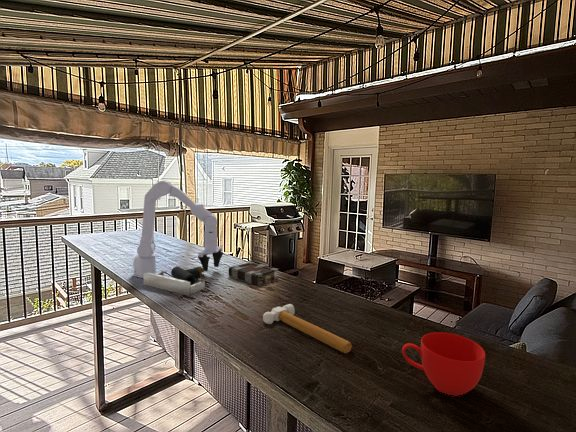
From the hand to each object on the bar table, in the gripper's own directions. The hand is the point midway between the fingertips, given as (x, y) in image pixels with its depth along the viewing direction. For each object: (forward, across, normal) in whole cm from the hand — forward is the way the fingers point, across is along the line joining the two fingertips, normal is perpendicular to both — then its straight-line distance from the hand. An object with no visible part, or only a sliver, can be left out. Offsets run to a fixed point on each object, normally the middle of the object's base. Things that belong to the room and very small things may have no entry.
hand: (211, 268), depth 159 cm
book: (+2, +4, -24) cm, 25 cm away
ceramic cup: (+2, -39, -102) cm, 109 cm away
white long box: (+2, -22, 0) cm, 22 cm away
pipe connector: (+2, -13, 0) cm, 13 cm away
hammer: (+3, -31, -65) cm, 72 cm away
